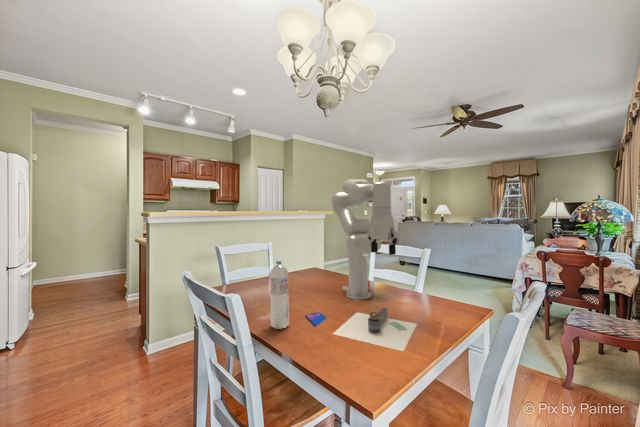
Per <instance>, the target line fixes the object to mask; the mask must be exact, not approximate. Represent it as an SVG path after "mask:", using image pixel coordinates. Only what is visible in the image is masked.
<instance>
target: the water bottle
mask: <svg viewBox="0 0 640 427" xmlns="http://www.w3.org/2000/svg"><path fill="white" fill-rule="evenodd" d="M269 277H270V292H269V293H270V295H269V296H270V297H269V298H270V299H269V300H270V325H271V326H272V327H273V328H277V329H281V330H283V329H282V328H285V329H287V328H288V327H289V326H290V311H289V310H290V309H289V306H290V305H289V304H290V302H289V300H290V299H289V298H290V297H289V271H288V269H287V268H286V267H285V266H284V265H282V260H277V261H276V265H275V266H274V267H272V269H271V270H270V272H269ZM271 326H270V327H271ZM287 326H288V327H287ZM272 327H271V328H272ZM286 327H287V328H286ZM273 328H272V329H273Z"/></svg>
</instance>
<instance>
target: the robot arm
mask: <svg viewBox="0 0 640 427" xmlns="http://www.w3.org/2000/svg"><path fill="white" fill-rule="evenodd" d="M391 186H392V185H391V183H390V182H387V181H375V182H374V183H370V182H369V180H367V179H362V178H360V179H358V178H356V179H355V178H350V179H346V180H345V181H344V182H343V184H342V191H340V192H336V193H334V194H333V195H332V197H331V205H332V209H333V211H334V213H335V214H336V216H337V217H338V219H339V221H340V223H341V227H342V229H343V232H344V234H345V235H346V236H347V238H346V242H345V244H346V248H347V255H348V256H347V258H348V285H342V286H341V287H342V288H341V289H342V291H343V292H345V291H346V294H345V296H346V297H347V298H348V299H350V300H359V301H363V300H368V299H370V298H371V297H372V293H371V292H370V291H369V283H368V282H369V277H368V274H369V272H368V269H369V268H368V267H369V266H368V260H367V258H366V257H365V254H364V253H377V252H378V251H380V249H381V247H382V241H381V240H383V241H385V240H386V241H388V243H389V245H388V254H389V256H392V255H396V252H397V251H396V250H397V248H396V245H397V244H398V242H399V241H400V237H401V233H400V232H398V231H397V230H396V229H395V222H394V217H393V214H392V194H391V193H392V189H391ZM364 202H372V210H371V212H372V215H371V216H370V219H367V218H357V217H356V215H355V214H354V212H353V211H352V210H351V209H350V208H351V207H352V208H353V207H354V208H355V207H356V208H357V207H361V206H362V205H363V204H364Z"/></svg>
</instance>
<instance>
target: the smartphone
mask: <svg viewBox="0 0 640 427" xmlns="http://www.w3.org/2000/svg"><path fill="white" fill-rule="evenodd" d="M304 318H306V320H308V322H309V321H310V322H311V323H312V324H313V325H314V326H315V328H316V327H318V326H319V325H320V324H321V323H323V322H325V320H327V317H326V316H325V315H324V314H323V313H322V312H314V313H308V314H305V317H304ZM310 322H309V323H310ZM311 323H310V324H311ZM312 324H311V325H312ZM313 325H312V326H313ZM314 326H313V327H314Z"/></svg>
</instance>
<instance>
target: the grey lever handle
mask: <svg viewBox="0 0 640 427" xmlns="http://www.w3.org/2000/svg"><path fill="white" fill-rule="evenodd" d="M369 315H370V318H368V330H369V331H370V332H373V333H378V332H380V331H381V324H382V323H383V322H384V321H385V319H386V318H388V307H382V308H381V309H380V310H379V311H378V312H374V311H372V312H369Z"/></svg>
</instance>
